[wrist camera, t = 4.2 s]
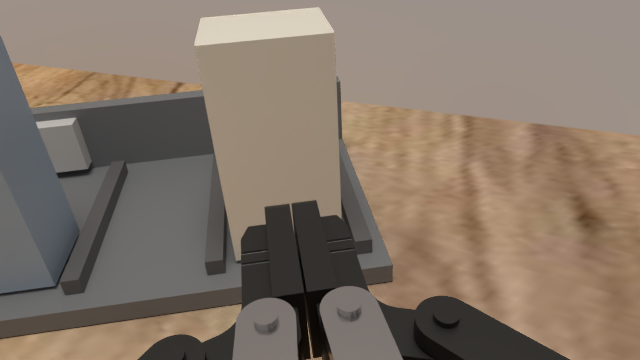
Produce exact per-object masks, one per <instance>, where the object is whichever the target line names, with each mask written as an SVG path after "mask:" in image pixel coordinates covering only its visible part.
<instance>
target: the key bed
mask: <svg viewBox="0 0 640 360" xmlns="http://www.w3.org/2000/svg"><path fill="white" fill-rule="evenodd" d="M336 83H337V109H338V136H339V163H340V189H341V216H342V220H343V221H344V222H345V223H346V224H347V225H348V229H349V232H350V235H351V239H352V241H353V244H354V247H355V250H356V254H357V257H358V260H359V263H360V266H361V269H362V272H363V275H364V278H365V282H366V285H370V284H377V283H383V282H390V281H392V270H393V265H392V262H391V260H390V257H389V255H388V252H387V250H386V247H385V245H384V242H383V240H382V237H381V235H380V232H379V230H378V227H377V225H376V222H375V220H374V217H373V215H372V212H371V210H370V207H369V205H368V202H367V200H366V197H365V195H364V192H363V190H362V187H361V185H360V182H359V180H358V177H357V175H356V172H355V170H354V167H353V165H352V162H351V160H350V157H349V155H348V152H347V150H346V148H345V145H344V143H343V140H342V122H341V95H340V94H341V92H340V81H339V79H338V77H337V76H336ZM30 109H31V112H32V114H33V117H34V119H35V122H36V124H37V127H38V129H39V132H40V134H41V137H42V139H43V141H44V144H45V146H46V149H47V151H48V154H49V156H50V159H51V161H52V164H53V166H54V169H55V171H56V174H57V176H58V178H59V181H60V183H61V186H62V188H63V191H64V193H65V196H66V198H67V201H68V203H69V206H70V208H71V211H72V213H73V215H74V218H75V220H76V223H77V225H78V228H79V230H80V231H79V234H78V236H77V238H76V240H75V243H74V245H73V247H72V249H71V252H70V254H69V256H68V259H67V261H66V263H65V265H64V268H63V270H62V272H61V274H60V277H59V279H58V281H57V284H56V286H51V287H43V288H36V289H29V290H22V291H14V292H7V293H0V338H6V337H13V336H20V335H27V334H34V333H40V332H47V331H54V330H61V329H68V328H75V327H82V326H88V325H95V324H102V323H109V322H116V321H123V320H130V319H136V318H143V317H150V316H157V315H164V314H171V313H178V312H184V311H191V310H198V309H205V308H212V307H219V306H226V305H232V304H239V303H242V286H241V260H239V261H236V259H235V254H234V249H233V244H232V239H231V233H230V228H229V223H228V218H227V213H226V208H225V203H224V197H223V192H222V187H221V182H220V177H219V172H218V167H217V162H216V156H215V151H214V146H213V141H212V136H211V131H210V126H209V120H208V115H207V110H206V105H205V100H204V95H203V90H201V91H191V92H181V93H172V94H162V95H153V96H143V97H134V98H124V99H114V100H105V101H95V102H86V103H76V104H66V105H57V106H47V107H38V108H30Z"/></svg>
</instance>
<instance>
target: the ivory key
mask: <svg viewBox="0 0 640 360" xmlns="http://www.w3.org/2000/svg"><path fill="white" fill-rule="evenodd" d="M194 48H195V54H196V59H197V64H198V68H199V74H200V79H201V85H202V90H203V95H204V100H205V105H206V110H207V115H208V120H209V126H210V131H211V136H212V141H213V146H214V151H215V156H216V162H217V167H218V172H219V177H220V182H221V187H222V192H223V197H224V203H225V208H226V213H227V218H228V223H229V228H230V233H231V239H232V244H233V249H234V254H235V259H236V261H239V260H241V238H242V236H243V235H244V233H245V231H246V229H247V228H248V227H249V226H257V225H264V224H266V220H265V209H264V207H266V206H274V205H282V204H289V205H290V211H291V217H292V223H293V216H292V206H291V203H296V202H304V201H312V200H316V201H317V204H318V208H319V212H320V216H321V217H323V216H331V215H337V216H338V217H340V218H341V219H342V216H341V189H340V163H339V136H338V109H337V83H336V58H335V57H336V56H335V32H334V31H333V29H332V28H331V26H330V24H329V23H328V21H327V20H326V18H325V17H324V15H323V13H322V12H321V10H320V9H319V7H317V8H307V9H295V10H284V11H273V12H261V13H251V14H239V15H228V16H217V17H206V18H201V20H200V24H199V28H198V32H197V36H196V40H195V44H194ZM293 229H294V225H293Z"/></svg>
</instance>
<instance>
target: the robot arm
mask: <svg viewBox="0 0 640 360" xmlns="http://www.w3.org/2000/svg"><path fill="white" fill-rule="evenodd" d="M291 206H292V216H293V223H292V217H291V211H290V205H289V204H282V205H274V206H266V207H264V209H265V220H266V224H264V225H257V226H249V227H248V228H247V229H246V231H245V233H244V235H243V236H242V238H241V286H242V309H241V312H240V313H239V315H238V317H237V320H236V322H235V323H234V324H233V326H232V327H230V328H229V329H228V330H227V331H225V332H224V333H222V334H220V335H218V336H216V337H214V338H212V339H209V340H207V341H205V342H203V343H201V342H200V341H199V340H198V339H196V338H195V337H192V336H190V335H173V336H169V337H166V338H164V339H162V340H160V341H158V342H157V343H155V344H154V345H153V346H151V347H150V348H149V349H148V350H147V351H146V352H145V353H144V354H143V355H142V356H141V357H140V358H139V359H138V360H306V359H311V356H310V346H309V336H308V328H309V334H310V340H311V347H312V353H313V358H317V357H322V360H570V359H568V358H566V357H564V356H562V355H560V354H559V353H557V352H555V351H553V350H551V349H549V348H547V347H546V346H544V345H542V344H540V343H538V342H536V341H535V340H533V339H531V338H529V337H527V336H525V335H523V334H522V333H520V332H518V331H516V330H514V329H512V328H511V327H509V326H507V325H505V324H503V323H501V322H499V321H498V320H496V319H494V318H492V317H490V316H488V315H487V314H485V313H483V312H481V311H479V310H477V309H475V308H474V307H472V306H470V305H468V304H466V303H464V302H463V301H460V300H458V299H456V298H453V297H448V296H435V297H431V298H428V299H426V300H424V301H422V302H421V303H420V304H419V305H418V307H417V309H416V310H412V309H403V308H396V307H392V306H388V305H386V304H383V303H382V302H380V301H378V300H377V299H376V298H375V297H374V296H373V295H372V294H371V293H370V292H369V290H368V287H367V285H366V282H365V278H364V275H363V272H362V269H361V266H360V263H359V260H358V257H357V254H356V250H355V247H354V244H353V241H352V239H351V235H350V232H349V229H348V225H347V224H346V223H345V222H344V221H343V220H342V219H341V218H340V217H338V216H337V215H331V216H323V217H321V216H320V212H319V208H318V204H317V201H316V200H312V201H304V202H296V203H291ZM293 225H294V229H293ZM307 322H308V326H307Z"/></svg>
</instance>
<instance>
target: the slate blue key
mask: <svg viewBox="0 0 640 360" xmlns="http://www.w3.org/2000/svg"><path fill="white" fill-rule="evenodd" d="M79 231H80V230H79V228H78V225H77V223H76V220H75V218H74V215H73V213H72V211H71V208H70V206H69V203H68V201H67V198H66V196H65V193H64V191H63V188H62V186H61V183H60V181H59V178H58V176H57V174H56V171H55V169H54V166H53V164H52V161H51V159H50V156H49V154H48V151H47V149H46V146H45V144H44V141H43V139H42V137H41V134H40V132H39V129H38V127H37V124H36V122H35V119H34V117H33V114H32V112H31V109H30V107H29V104H28V102H27V100H26V97H25V95H24V92H23V90H22V87H21V85H20V82H19V80H18V77H17V75H16V72H15V70H14V67H13V65H12V63H11V60H10V58H9V55H8V53H7V50H6V48H5V46H4V43H3V40H2V38H1V36H0V293H7V292H14V291H22V290H29V289H36V288H43V287H51V286H56V284H57V281H58V279H59V277H60V274H61V272H62V270H63V268H64V265H65V263H66V261H67V259H68V256H69V254H70V252H71V249H72V247H73V245H74V243H75V240H76V238H77V236H78V234H79Z"/></svg>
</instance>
